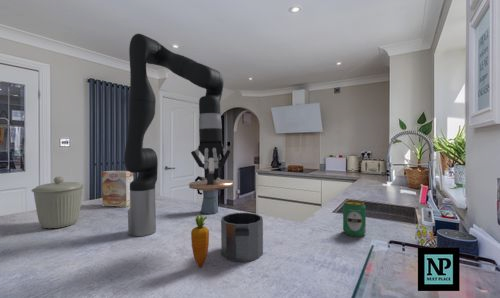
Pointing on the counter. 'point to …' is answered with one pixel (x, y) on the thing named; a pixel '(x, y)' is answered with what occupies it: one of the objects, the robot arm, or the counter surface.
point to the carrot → (200, 241)
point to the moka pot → (209, 199)
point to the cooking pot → (242, 237)
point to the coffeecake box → (116, 188)
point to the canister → (58, 203)
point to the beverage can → (354, 218)
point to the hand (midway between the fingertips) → (212, 179)
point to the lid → (211, 183)
